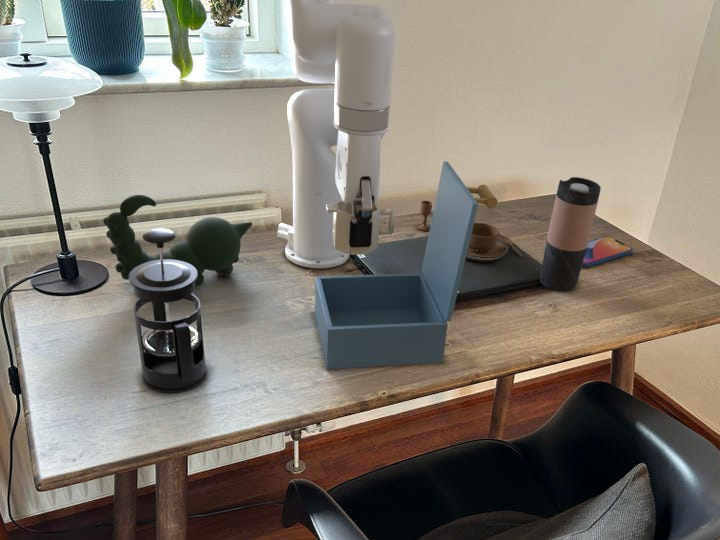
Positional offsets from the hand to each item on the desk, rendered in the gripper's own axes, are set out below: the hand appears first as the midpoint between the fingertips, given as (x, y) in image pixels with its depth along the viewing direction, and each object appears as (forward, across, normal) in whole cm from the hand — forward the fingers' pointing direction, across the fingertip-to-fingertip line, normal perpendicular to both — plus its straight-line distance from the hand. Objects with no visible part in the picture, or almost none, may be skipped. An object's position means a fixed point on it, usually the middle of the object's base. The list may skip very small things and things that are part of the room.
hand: (355, 234), depth 111 cm
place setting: (+19, -33, +31) cm, 49 cm away
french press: (+19, +8, -28) cm, 34 cm away
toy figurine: (+19, -21, -26) cm, 38 cm away
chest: (+19, 0, +4) cm, 19 cm away
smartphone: (+19, -26, +57) cm, 66 cm away
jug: (+2, 0, 0) cm, 2 cm away
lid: (+1, 0, +14) cm, 14 cm away
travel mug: (+19, -15, +44) cm, 50 cm away
